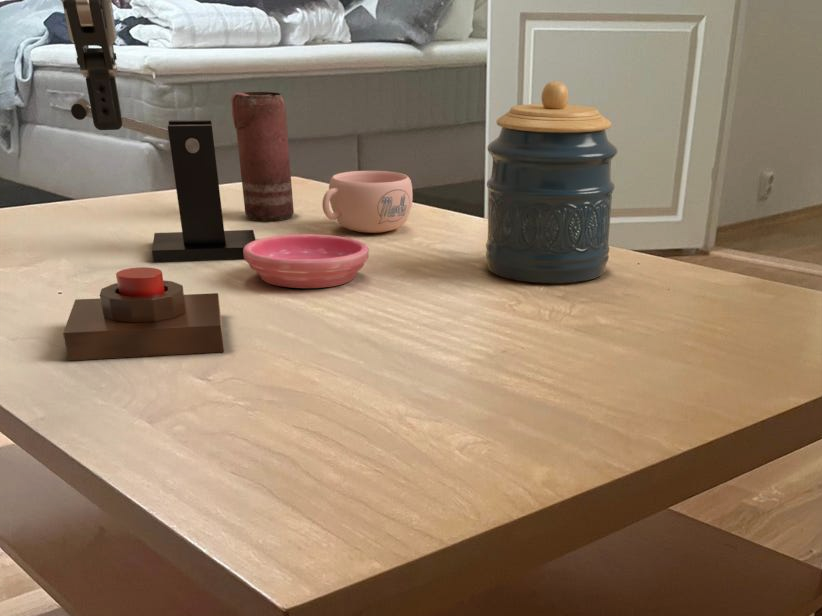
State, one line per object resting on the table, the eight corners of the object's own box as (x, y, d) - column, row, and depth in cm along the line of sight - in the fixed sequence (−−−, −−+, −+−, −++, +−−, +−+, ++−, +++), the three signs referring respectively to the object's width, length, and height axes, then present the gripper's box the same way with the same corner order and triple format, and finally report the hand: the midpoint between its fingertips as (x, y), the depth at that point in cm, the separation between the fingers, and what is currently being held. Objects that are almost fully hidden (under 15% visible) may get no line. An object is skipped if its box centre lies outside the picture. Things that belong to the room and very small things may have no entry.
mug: (380, 217, 128) (378, 167, 125) (429, 230, 122) (429, 178, 119) (301, 230, 122) (297, 177, 118) (349, 244, 115) (346, 188, 112)
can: (237, 214, 129) (224, 91, 121) (285, 210, 131) (275, 89, 124) (251, 223, 124) (238, 96, 117) (300, 219, 127) (290, 94, 119)
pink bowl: (323, 258, 110) (321, 227, 108) (394, 280, 102) (393, 247, 100) (223, 275, 102) (219, 243, 101) (290, 301, 95) (287, 266, 93)
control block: (68, 360, 79) (57, 309, 77) (80, 325, 87) (70, 277, 85) (224, 352, 82) (217, 302, 79) (221, 318, 90) (215, 271, 88)
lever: (69, 122, 100) (72, 96, 99) (74, 116, 104) (76, 91, 103) (204, 161, 105) (208, 136, 103) (203, 154, 109) (207, 130, 108)
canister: (576, 253, 114) (588, 75, 104) (629, 280, 103) (647, 86, 94) (468, 260, 110) (470, 76, 100) (511, 289, 99) (518, 88, 90)
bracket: (153, 262, 107) (132, 128, 100) (156, 244, 114) (136, 118, 107) (258, 258, 109) (245, 127, 102) (254, 240, 116) (241, 117, 109)
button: (118, 301, 81) (114, 278, 80) (120, 289, 84) (117, 268, 83) (164, 299, 81) (161, 277, 80) (165, 287, 84) (162, 266, 83)
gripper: (19, -129, 78) (67, 120, 87) (-3, -146, 67) (54, 140, 77) (120, -126, 79) (156, 119, 89) (114, -142, 69) (156, 138, 78)
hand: (109, 128), depth 83 cm, fingers closed
